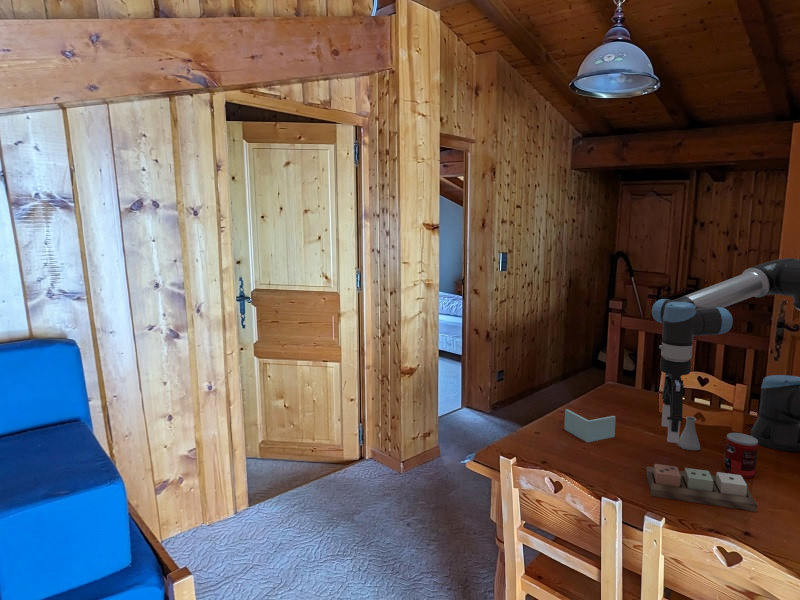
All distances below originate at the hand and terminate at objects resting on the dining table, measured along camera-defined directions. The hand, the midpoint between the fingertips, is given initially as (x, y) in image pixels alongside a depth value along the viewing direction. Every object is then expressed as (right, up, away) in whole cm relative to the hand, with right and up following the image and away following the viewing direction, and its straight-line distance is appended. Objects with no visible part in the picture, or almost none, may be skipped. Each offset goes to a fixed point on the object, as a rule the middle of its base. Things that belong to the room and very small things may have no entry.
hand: (669, 433), depth 147 cm
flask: (+21, -12, +28) cm, 37 cm away
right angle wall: (-9, -10, +39) cm, 41 cm away
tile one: (+15, -15, -3) cm, 21 cm away
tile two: (+8, -14, 0) cm, 16 cm away
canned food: (+26, -14, +10) cm, 32 cm away
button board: (+8, -16, 0) cm, 18 cm away
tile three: (0, -14, +2) cm, 14 cm away
